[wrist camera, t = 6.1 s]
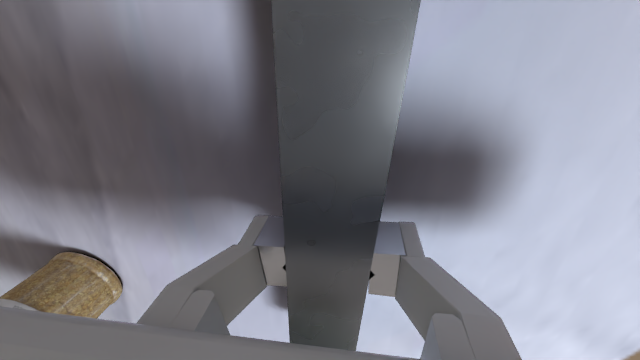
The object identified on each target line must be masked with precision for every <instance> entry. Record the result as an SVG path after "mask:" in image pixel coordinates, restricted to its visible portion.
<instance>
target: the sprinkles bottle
mask: <svg viewBox="0 0 640 360" xmlns="http://www.w3.org/2000/svg"><path fill="white" fill-rule="evenodd" d="M121 293H122V286H121V283H120V280H119V279H118V277H117V276H116V275H115V273H114V272H113V271H112V270H111V269H110V268H108V267H107V266H105V265H104V264H103V263H101V262H100V261H98V260H96V259H94V258H91V257H88V256H85V255H83V254H78V253H74V252H63V253H59V254H57V255H56V256H55V257H53V258H52V259H51V260H50V261H49V263H48V264H47V265H45V266H44V267H42V268H41V269H40V270H38V271H37V272H35V273H34V274H32V275H31V276H30V277H28V278H27V279H26V280H24V281H23V282H21V283H20V284H18V285H17V286H15V287H14V288H13V289H11V290H10V291H8V292H7V293H5V294H4V295H3V296H1V297H0V306H1V307H9V308H17V309H24V310H32V311H40V312H48V313H56V314H64V315H72V316H80V317H88V318H96V319H97V318H98V317H99V315H100V314H101V313H102V312H103V311H104V310H105V309H106V308H107V307H108V306H109V305H111V304H113V303H114V302H115V301H116V300H117V299H118V298H119V297H120V295H121Z"/></svg>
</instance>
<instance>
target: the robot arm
mask: <svg viewBox="0 0 640 360" xmlns="http://www.w3.org/2000/svg"><path fill="white" fill-rule="evenodd" d="M266 285H271V286H287V280H286V262H285V244H284V225H283V216H267V215H257V216H255V217H254V219H253V220H252V222H251V224H250V225H249V227H248V229H247V230H246V232H245V234H244V235H243V237H242V239H241V240H240V242H239V243H238V245H232V246H231V247H229V248H227V249H226V250H224V251H222V252H221V253H219V254H217V255H216V256H214V257H212V258H211V259H209V260H207V261H206V262H204V263H203V264H201V265H199V266H198V267H196V268H194V269H193V270H191V271H189V272H188V273H186V274H184V275H183V276H181V277H179V278H178V279H176V280H174V281H173V282H171V283H169V284H168V285H167V286H166V287H165V288H164V289H163V291H162V292H161V293H160V294H159V296H158V297H157V298H156V299H155V301H154V302H153V303H152V304H151V306H150V307H149V308H148V309H147V311H146V312H145V313H144V314H143V316H142V317H141V318H140V319H139V321H138V322H137V323H128V322H120V321H112V320H104V319H96V318H88V317H80V316H72V315H64V314H56V313H48V312H40V311H32V310H24V309H17V308H9V307H1V306H0V360H522V359H521V357H520V355H519V353H518V351H517V349H516V347H515V345H514V343H513V341H512V339H511V337H510V335H509V333H508V331H507V329H506V327H505V325H504V323H503V321H502V319H501V318H500V317H499V316H498V315H497V314H496V313H494V312H493V311H492V310H491V309H490V308H489V307H487V306H486V305H485V304H484V303H483V302H482V301H480V300H479V299H478V298H477V297H476V296H474V295H473V294H472V293H471V292H470V291H469V290H467V289H466V288H465V287H464V286H463V285H462V284H460V283H459V282H458V281H457V280H456V279H455V278H453V277H452V276H451V275H450V274H449V273H447V272H446V271H445V270H444V269H443V268H442V267H440V266H439V265H438V264H437V263H436V262H435V261H433V260H432V259H431V258H428V257H425V255H424V252H423V248H422V245H421V242H420V238H419V235H418V232H417V228H416V225H415V223H414V222H381V221H380V222H379V228H378V233H377V238H376V244H375V249H374V254H373V260H372V265H371V271H370V276H369V281H368V289H369V294H375V295H383V296H392V297H395V299H396V300H397V302H398V303H399V304H400V306H401V307H402V309H403V310H404V312H405V313H406V314H407V316H408V317H409V319H410V320H411V322H412V323H413V324H414V326H415V327H416V329H417V330H418V332H419V333H420V334H421V336H422V337H423V339H424V340H425V344H424V347H423V351H422V355H421V358H420V359H415V358H407V357H399V356H391V355H383V354H375V353H367V352H359V351H350V350H342V349H334V348H326V347H318V346H311V345H303V344H295V343H287V342H279V341H271V340H263V339H255V338H247V337H239V336H231V335H230V333H229V331H228V328H227V325H228V324H229V323H230V322H231V321H232V320H233V319H234V318H235V317H236V316H237V315H238V314H239V313H240V312H241V311H242V310H243V309H244V308H245V307H246V306H247V305H248V304H249V303H250V302H251V301H252V300H253V299H254V298H255V297H256V296H257V295H259V294H260V293H261V292H262V291H263V290H264V289H265V288H266Z"/></svg>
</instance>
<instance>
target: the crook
mask: <svg viewBox="0 0 640 360" xmlns="http://www.w3.org/2000/svg"><path fill="white" fill-rule="evenodd" d="M420 2H421V0H271V6H272V24H273V42H274V61H275V79H276V97H277V115H278V134H279V152H280V170H281V189H282V207H283V225H284V244H285V262H286V280H287V298H288V317H289V335H290V343H295V344H303V345H311V346H318V347H326V348H334V349H342V350H350V351H356V346H357V341H358V335H359V330H360V324H361V319H362V314H363V308H364V303H365V297H366V292H367V287H368V281H369V276H370V271H371V265H372V260H373V254H374V249H375V244H376V238H377V233H378V228H379V222H380V217H381V211H382V206H383V201H384V195H385V190H386V184H387V179H388V174H389V168H390V163H391V158H392V152H393V147H394V141H395V136H396V131H397V125H398V120H399V115H400V109H401V104H402V98H403V93H404V88H405V82H406V77H407V71H408V66H409V61H410V55H411V50H412V45H413V39H414V34H415V28H416V23H417V18H418V12H419V7H420Z"/></svg>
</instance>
